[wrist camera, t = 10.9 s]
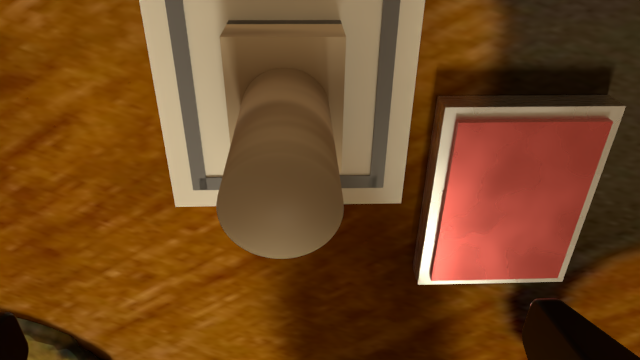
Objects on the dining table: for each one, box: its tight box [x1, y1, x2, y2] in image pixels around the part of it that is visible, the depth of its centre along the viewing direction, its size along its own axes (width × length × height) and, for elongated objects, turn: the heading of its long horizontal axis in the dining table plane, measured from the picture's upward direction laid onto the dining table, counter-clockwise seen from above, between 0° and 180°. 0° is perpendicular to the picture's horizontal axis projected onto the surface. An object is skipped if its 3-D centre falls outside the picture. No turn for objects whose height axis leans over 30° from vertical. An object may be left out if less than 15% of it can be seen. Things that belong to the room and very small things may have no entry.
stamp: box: [216, 20, 346, 259], centre depth 15 cm, size 5×4×8 cm
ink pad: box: [413, 95, 626, 285], centre depth 21 cm, size 9×7×2 cm
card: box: [139, 0, 425, 207], centre depth 18 cm, size 11×10×1 cm
